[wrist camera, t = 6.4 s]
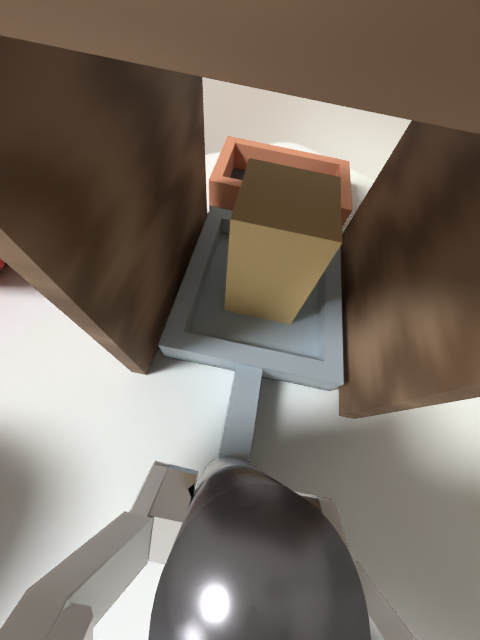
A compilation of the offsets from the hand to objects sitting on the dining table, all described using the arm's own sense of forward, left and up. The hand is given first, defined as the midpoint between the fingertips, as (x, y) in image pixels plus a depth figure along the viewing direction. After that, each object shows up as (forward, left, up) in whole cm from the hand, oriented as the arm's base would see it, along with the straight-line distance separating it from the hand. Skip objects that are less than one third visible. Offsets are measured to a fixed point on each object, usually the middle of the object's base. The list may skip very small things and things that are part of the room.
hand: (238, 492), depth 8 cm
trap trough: (-4, -25, -6) cm, 26 cm away
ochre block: (-2, -12, -5) cm, 13 cm away
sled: (-2, -8, -6) cm, 10 cm away
